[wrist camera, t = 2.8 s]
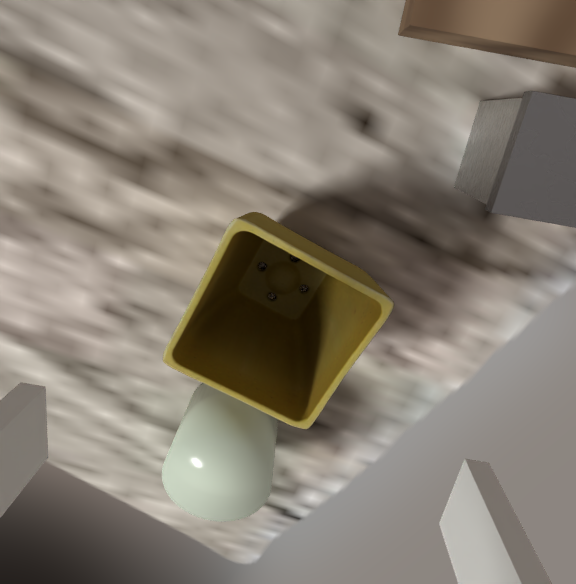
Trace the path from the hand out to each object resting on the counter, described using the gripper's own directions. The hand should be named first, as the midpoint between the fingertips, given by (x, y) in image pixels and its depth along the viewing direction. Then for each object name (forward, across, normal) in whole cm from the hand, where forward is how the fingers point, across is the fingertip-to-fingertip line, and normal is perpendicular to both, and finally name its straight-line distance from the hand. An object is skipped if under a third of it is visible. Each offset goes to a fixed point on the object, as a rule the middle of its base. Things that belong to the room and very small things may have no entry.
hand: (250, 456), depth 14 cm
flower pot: (+18, 0, 0) cm, 18 cm away
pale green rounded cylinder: (+18, -2, -12) cm, 21 cm away
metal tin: (+17, +12, +10) cm, 23 cm away
